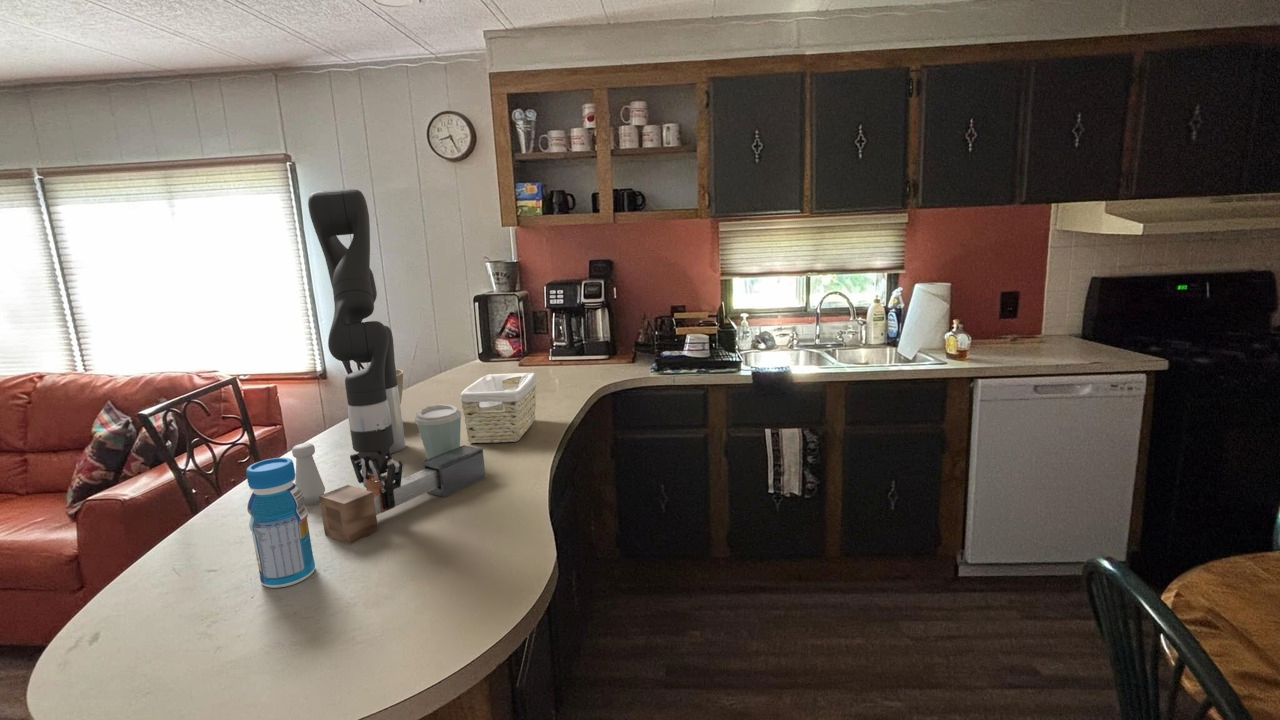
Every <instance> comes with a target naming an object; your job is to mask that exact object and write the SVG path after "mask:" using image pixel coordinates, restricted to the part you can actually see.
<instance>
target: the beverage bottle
mask: <svg viewBox="0 0 1280 720" xmlns="http://www.w3.org/2000/svg"><path fill="white" fill-rule="evenodd" d="M245 470H246V474H245V475H246V479H247V484H248V487H249V489H250V491H251V490H252V492H251V495H250V497H249V500H248V503H247V510H246V511H247V513H248V514H249V515H250V519H249V522H248V524H249V525H248V526H249V530H250V531H251V534H252V540H253V547H254V550H255V556H256V562H257V566H258V572H259V573H258V574H259V579H260V583H261V584H262V585H263V586H265V587H266V588H271V589H272V588H273V589H277V588H285V587H290V586H293V585H296V584H299V583H300V582H302V581H303V582H304V581H305V580H306V579H307V578H309V577H310V576H312V574H313V573H314V571H315V569H316V562H315V559H314V554H313V553H314V552H313V549H312V540H311V536H310V528H309V522H308V516H309V515H308V514H309V513H308V508H307V507H306V506H304V505H303V501H304V495H303V493H302V492H301V490H300V489H299V488H298V487H297V486H296V485H295V483H294V481H295V478H296V469H295V464H294V462H293V459H291V458H288V457H274V458H268V459H264V460H260V461H257V462H254V463H253V464H250V465H249V466H247V468H246V469H245Z"/></svg>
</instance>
